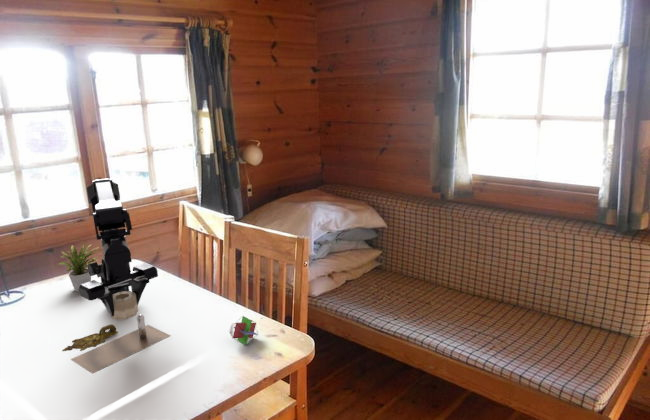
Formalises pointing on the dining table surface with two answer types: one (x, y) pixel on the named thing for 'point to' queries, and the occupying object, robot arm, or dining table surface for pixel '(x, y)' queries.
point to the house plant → (79, 266)
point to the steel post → (141, 326)
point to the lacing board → (118, 349)
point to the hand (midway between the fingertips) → (124, 310)
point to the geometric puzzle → (243, 330)
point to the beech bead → (124, 305)
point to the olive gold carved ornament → (93, 338)
